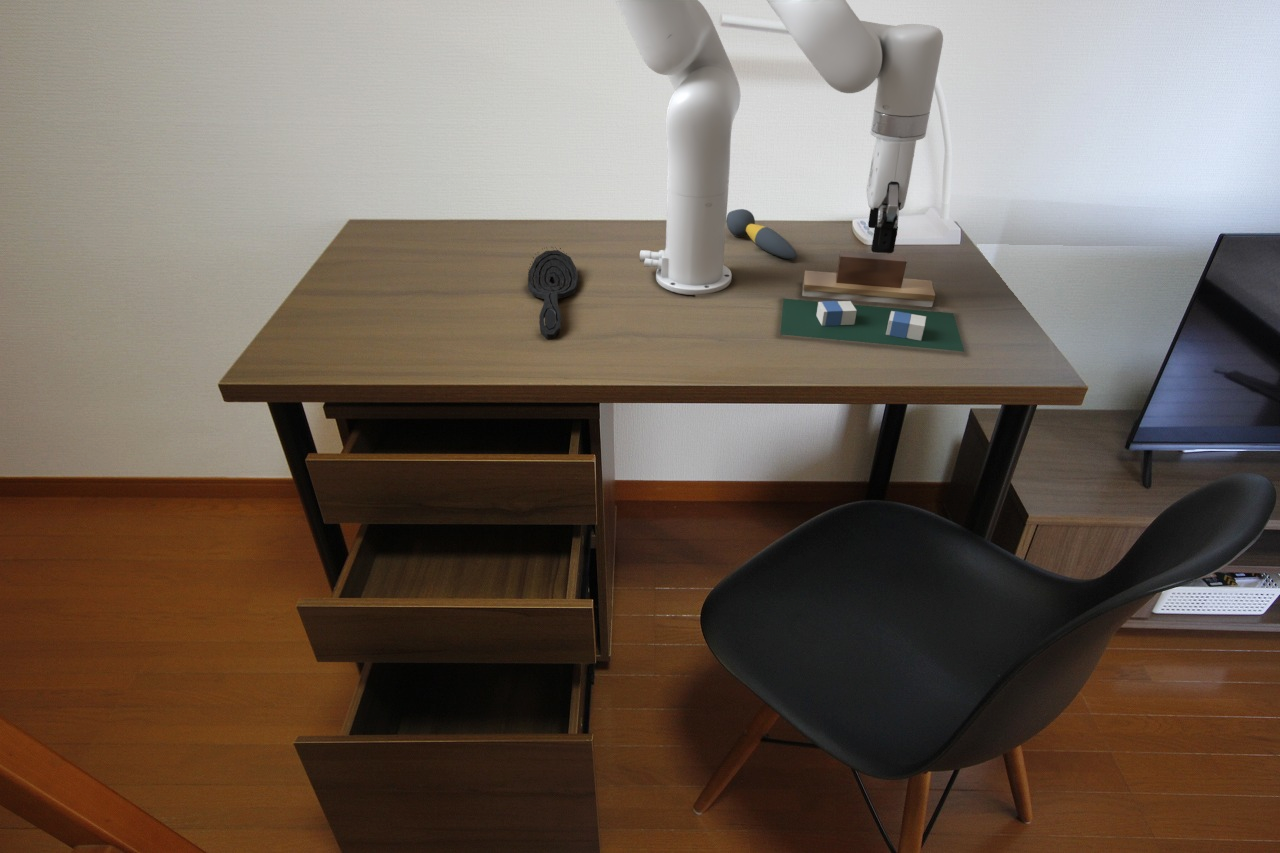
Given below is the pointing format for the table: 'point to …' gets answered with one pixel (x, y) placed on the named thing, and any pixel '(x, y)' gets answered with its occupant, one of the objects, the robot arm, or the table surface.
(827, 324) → the eraser left
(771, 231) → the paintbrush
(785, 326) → the desk mat
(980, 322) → the table surface
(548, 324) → the hairbrush
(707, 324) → the table surface
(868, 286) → the scrub brush
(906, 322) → the eraser right
